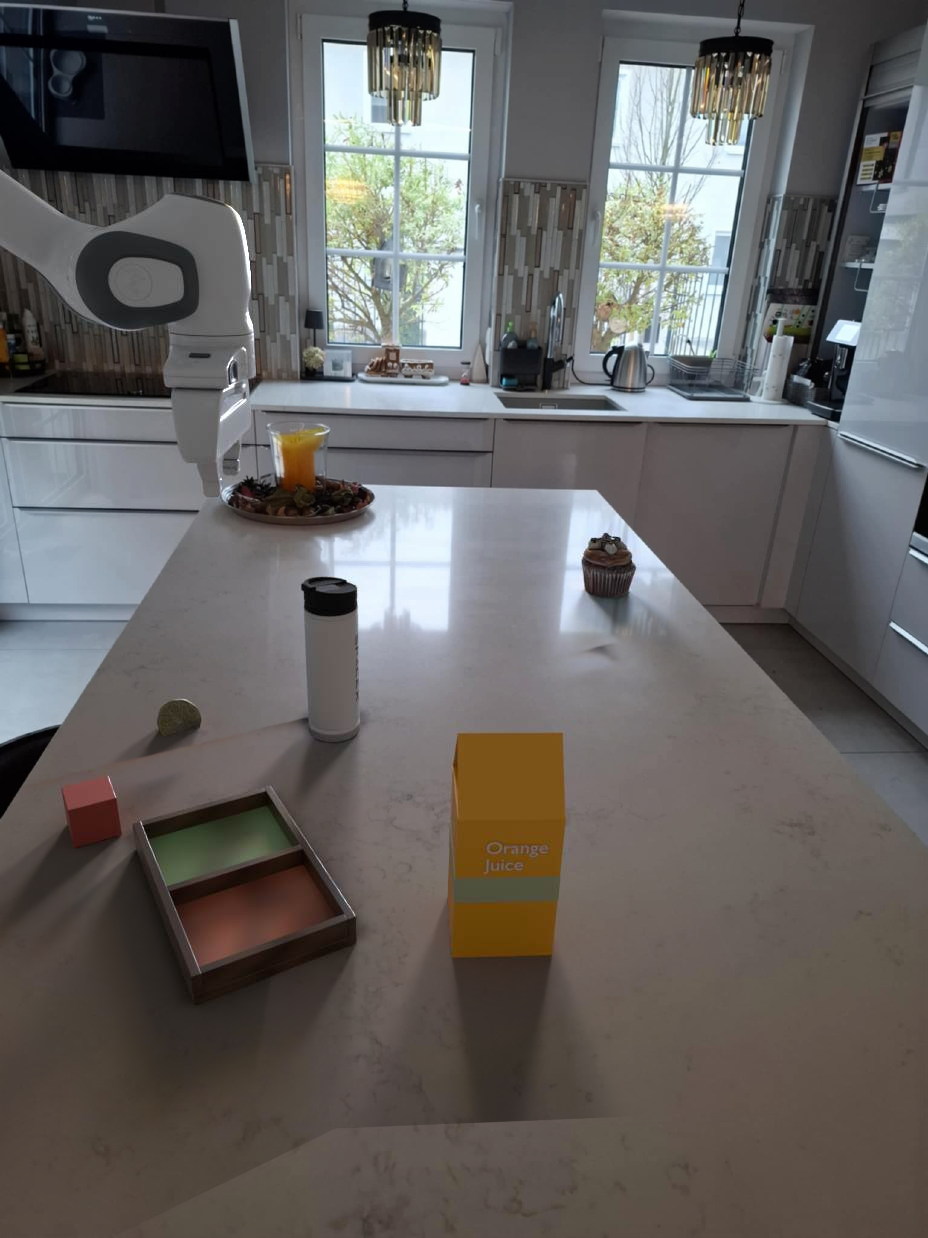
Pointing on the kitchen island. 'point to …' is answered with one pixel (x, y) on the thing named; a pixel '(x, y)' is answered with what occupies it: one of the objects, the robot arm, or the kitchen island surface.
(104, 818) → the red block
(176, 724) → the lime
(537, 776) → the orange juice
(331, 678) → the travel mug
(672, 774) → the kitchen island surface
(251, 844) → the sorting tray
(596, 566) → the cupcake
